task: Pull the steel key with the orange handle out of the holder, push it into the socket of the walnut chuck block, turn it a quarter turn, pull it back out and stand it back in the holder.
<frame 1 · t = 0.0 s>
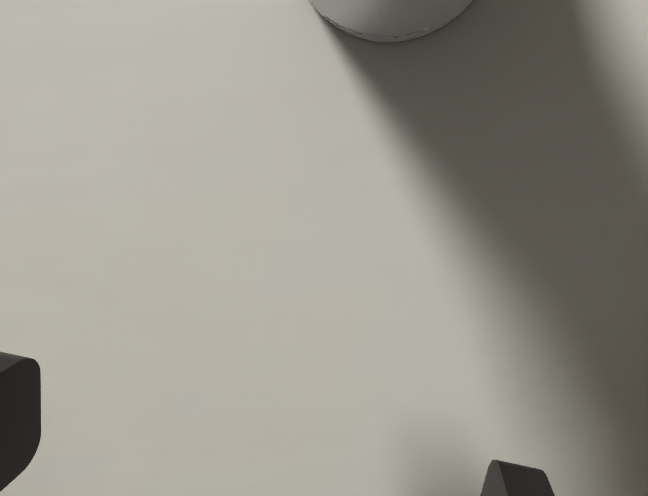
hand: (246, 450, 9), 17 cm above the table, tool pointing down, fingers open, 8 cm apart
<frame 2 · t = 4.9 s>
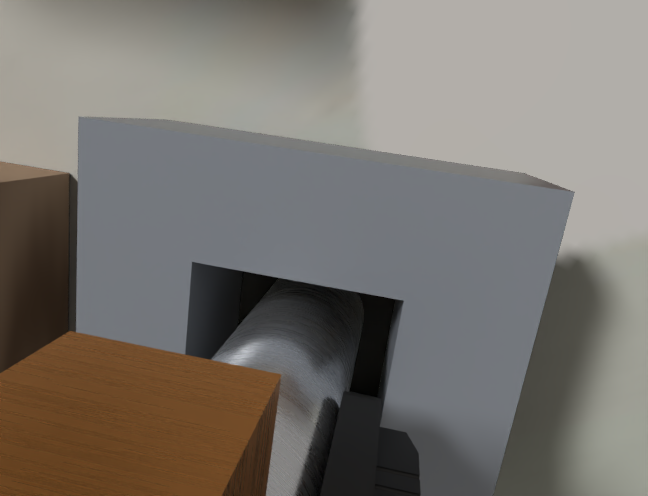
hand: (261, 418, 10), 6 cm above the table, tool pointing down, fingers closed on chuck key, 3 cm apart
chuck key: (258, 429, 9), in the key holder, touching gripper
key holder: (313, 313, 15), on the table
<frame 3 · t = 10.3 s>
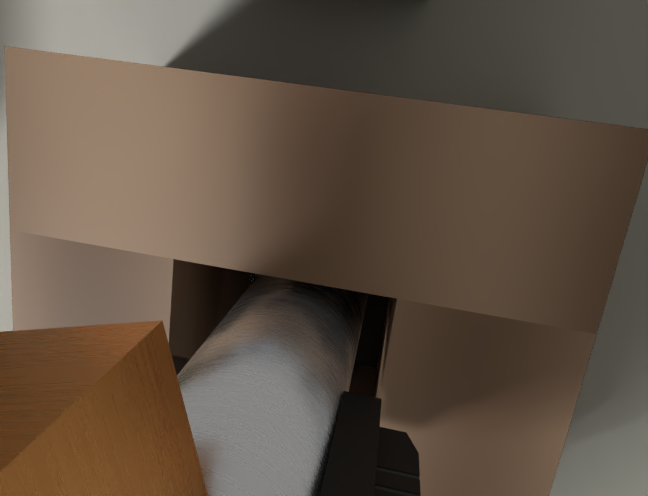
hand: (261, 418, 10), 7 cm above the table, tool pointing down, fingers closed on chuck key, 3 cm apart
chuck block: (317, 291, 16), on the table
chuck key: (261, 402, 9), point 7 cm above the table, touching gripper
when the fingers open (7 cm above the table, at t = 15.6 s): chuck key drops 3 cm, resting in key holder.
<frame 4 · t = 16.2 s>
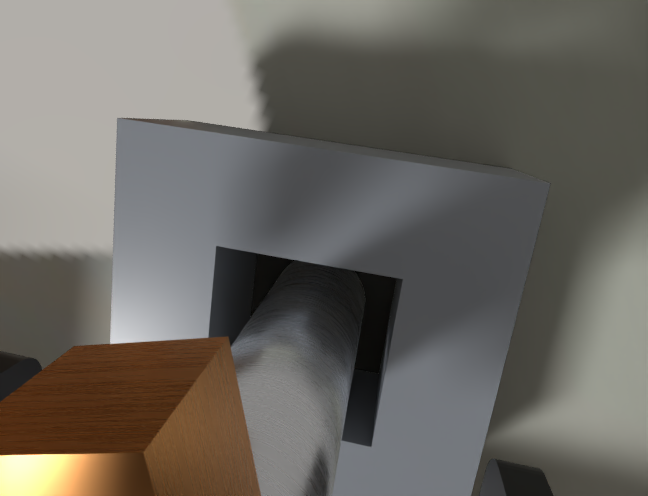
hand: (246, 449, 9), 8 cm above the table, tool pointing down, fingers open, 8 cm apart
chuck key: (276, 403, 11), in the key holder
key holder: (320, 297, 16), on the table
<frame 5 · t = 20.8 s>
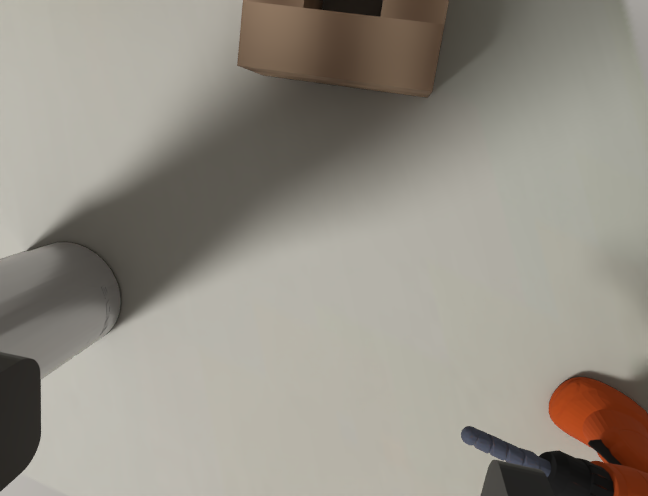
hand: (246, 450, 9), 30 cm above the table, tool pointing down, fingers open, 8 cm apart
toy drill: (545, 384, 39), on the table
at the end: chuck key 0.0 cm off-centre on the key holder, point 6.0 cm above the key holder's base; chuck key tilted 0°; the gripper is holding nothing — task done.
